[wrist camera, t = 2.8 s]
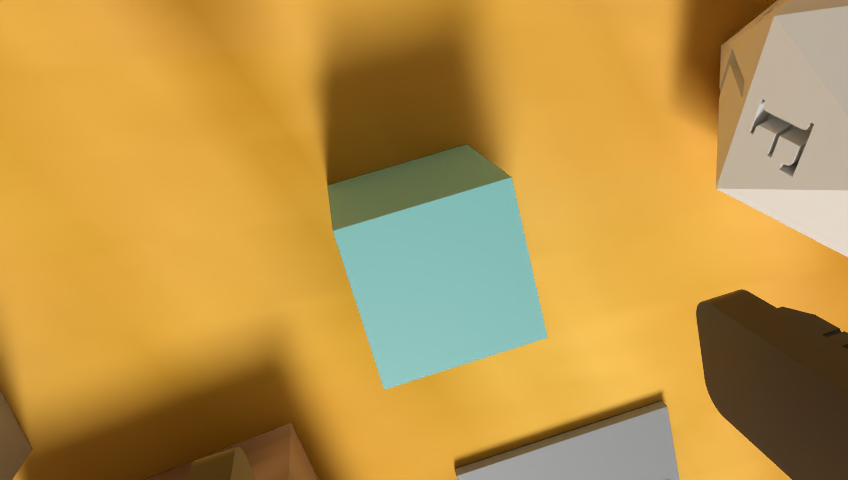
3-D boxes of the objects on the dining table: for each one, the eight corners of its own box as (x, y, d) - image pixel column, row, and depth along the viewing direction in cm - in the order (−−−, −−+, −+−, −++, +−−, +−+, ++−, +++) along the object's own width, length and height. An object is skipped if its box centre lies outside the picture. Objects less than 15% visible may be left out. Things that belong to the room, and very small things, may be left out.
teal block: (466, 143, 22) (511, 177, 17) (498, 273, 23) (547, 337, 18) (327, 184, 21) (332, 231, 16) (368, 313, 23) (383, 389, 18)
